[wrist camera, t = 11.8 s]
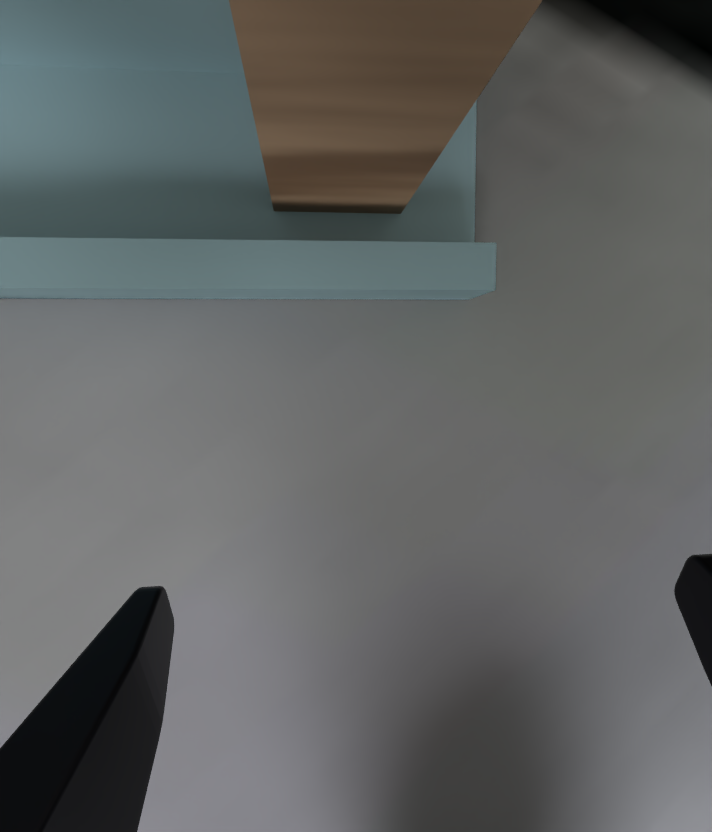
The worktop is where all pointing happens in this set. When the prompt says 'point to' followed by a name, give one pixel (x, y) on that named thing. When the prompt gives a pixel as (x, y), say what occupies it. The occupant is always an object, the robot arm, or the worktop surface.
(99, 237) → the backboard channel
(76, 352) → the worktop surface
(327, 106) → the walnut box
